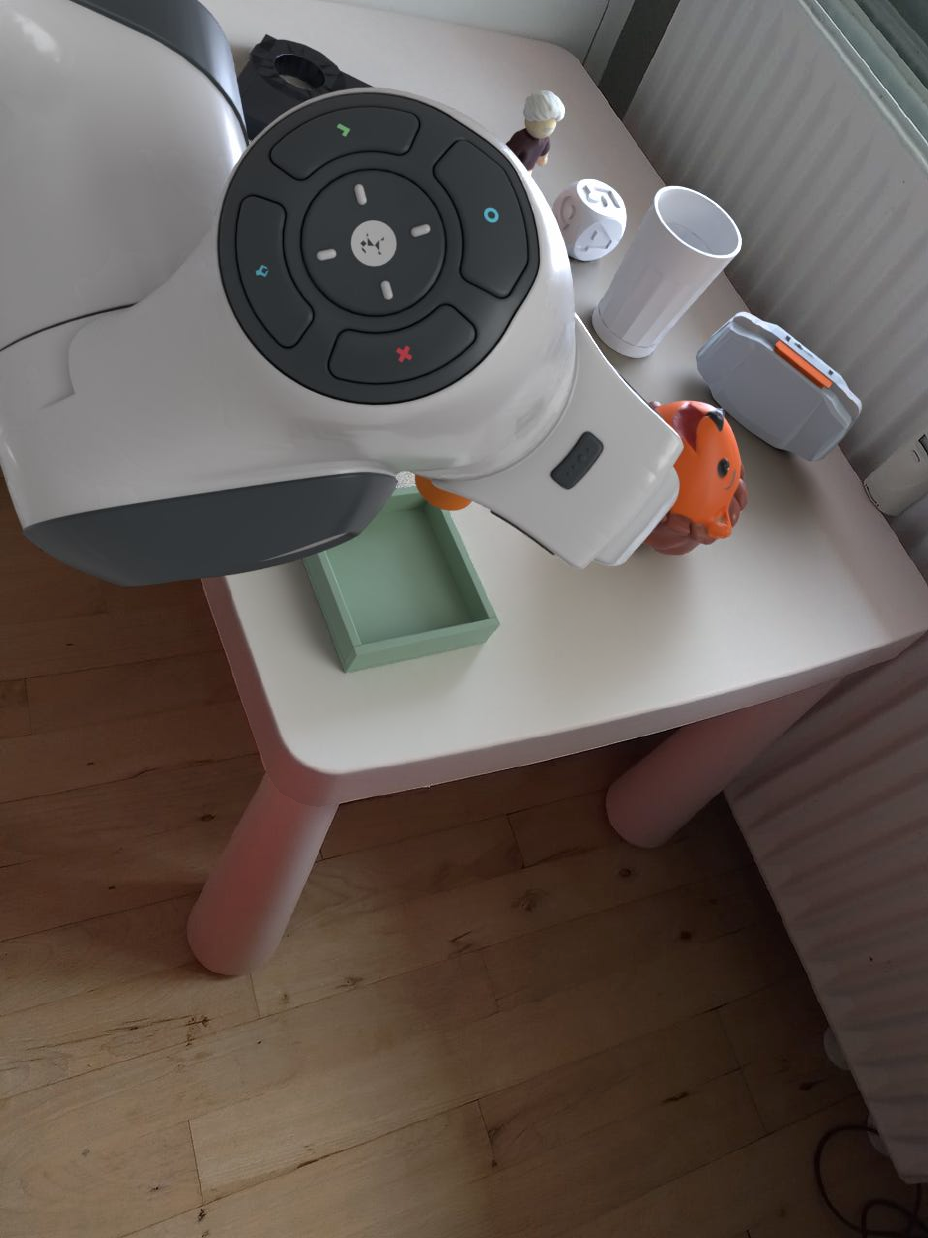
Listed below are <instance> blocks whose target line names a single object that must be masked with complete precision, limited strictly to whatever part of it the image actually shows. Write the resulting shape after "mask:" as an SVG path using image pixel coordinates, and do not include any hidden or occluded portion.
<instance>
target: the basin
mask: <svg viewBox="0 0 928 1238" xmlns="http://www.w3.org/2000/svg"><path fill="white" fill-rule="evenodd" d="M301 560H302V563H303V566H304V568H305V571H306V574H307V576H308V579H309V581H310V585H311V587H312V589H313V593H314V595H315V597H316V601H317V603H318V606H319V608H320V610H321V613H322V616H323V619H324V622H325V624H326V627H327V629H328V632H329V635H330V638H331V640H332V642H333V645H334V647H335V650H336V652H337V656H338V658H339V661H340V664H341V666H342V669H343V671H344V673H345V674H350V673H353V672H358V671H364V670H368V669H372V668H376V667H381V666H385V665H389V664H390V665H391V664H394V663H395V664H396V663H399V662H405V661H407V660H413V659H418V658H421V657H426V656H430V655H431V656H432V655H435V654H440V653H445V652H449V651H455V650H457V649H463V648H467V647H468V648H469V647H471V646H476V645H481V644H486V643H487V642H488V641H489V639H490V638H491V637H492V635H494V633H495V632H496V631H497V629H498V628H499V627H500V626H501V623H500V621H499V619H498V616H497V613H496V612H495V610H494V608H493V605H492V602H491V601H490V598H489V596H488V594H487V592H486V590H485V587H484V585H483V583H482V581H481V578H480V575H479V574H478V572H477V570H476V567H475V565H474V563H473V560H472V559H471V557H470V554H469V552H468V549H467V548H466V545H465V543H464V541H463V538H462V536H461V534H460V532H459V529H458V528H457V525H456V522H455V520H454V518H453V516H452V514H451V512H450V511H448V510H443V509H440V508H437V507H435V506H433V505H432V504H430V503H429V502H428V501H426V500H425V499H424V498H423V497H422V495H421V494H420V493H419V491H418V489H417V487H416V485H412V486H404V487H396V488H395V490H394V492H393V493H392V495H391V497H390V498H389V500H388V501H387V503H386V504H385V506H384V507H383V508H382V510H381V511H380V512H379V513H378V515H377V516H376V517H375V518H374V519H373V520H372V522H371V523H370V524H369V525H368V526H367V527H366V528H365V529H364V530H363V531H362V532H361V534H360V535H358V536H357V537H355V538H353V539H351V540H349V541H347V542H345V543H343V544H340V545H338V546H336V547H333V548H331V549H328V550H325V551H323V552H320V553H317V554H314V555H312V556H309V557H306V558H302V559H301Z"/></svg>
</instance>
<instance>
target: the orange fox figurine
mask: <svg viewBox="0 0 928 1238" xmlns="http://www.w3.org/2000/svg"><path fill="white" fill-rule="evenodd" d="M648 403H649V404H650V405H651V406H652V407H653V408H654V409H655V410H656V411H657V412H658V413H659V414H660V415H661V416H662V418H663V419H664V421H665V422H666V423H667V424H668V425H669V426H670V427H671V428H672V429H673V430H674V431H675V432H676V433H677V434H678V435H679V436H680V438H681V440H682V442H683V446H684V448H683V451H682V452H681V454H680V455H679V457H678V459H677V460H676V462H675V463H674V465H673V467H674V469H675V471H676V473H677V475H678V478H679V484H680V486H679V493H678V497H677V500H676V502H675V503H674V505H673V506H672V507H671V509H670V510H669V511H668V512H667V514H666V515H665V516H664V517H663V518H662V520H661V521H660V522H659V523H658V525H657V526H656V527H655V528H654V529H653V531H652V532H651V533H650V534H649V535H648V537H647V538H646V539H645V540H644V541H643V542H642V543H641V545H644V546H646V547H650V548H651V549H652V550H654V551H655V552H657V553H659V554H661V555H664V556H671V557H672V556H673V557H677V556H678V557H679V556H683V555H687V554H689V553H690V552H692V551H693V550H695V549H696V548H697V547H698V546H699V545H703V546H710V545H713V543H715V542H716V541H718V540H720V539H727V538H728V537H730V535H731V534H732V529H734V527H735V526H736V525H737V523H738V521H739V519H740V517H741V512H743V511H744V510H745V508H746V507H747V505H748V503H749V502H748V501H749V493H748V489H747V486H746V483H745V482H744V478H745V476H746V475H745V474H746V473H745V467H744V464H743V462H742V460H741V455H740V449H739V446H738V443H737V440H736V437H735V434H734V432H733V430H732V427H731V425H730V423H729V422H728V421H727V419H726V417H725V413H726V411H725V410H724V409H723V408H722V407H721V408H720V407H719V408H717V407H714V406H713V405H711V404H709V403H707V402H706V403H705V402H702V401H695V400H680V401H679V400H678V401H673V402H670V403H664V404H661V402H659V401H657V400H654V401H650V402H648Z"/></svg>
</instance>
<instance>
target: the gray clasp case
mask: <svg viewBox="0 0 928 1238" xmlns="http://www.w3.org/2000/svg"><path fill="white" fill-rule="evenodd" d="M695 360H696V368H697V371H698V373H699V374H700V376H701V378H702V379H703V381H704V382H705V384H707V385H708V388H709V390H710V391H711V395H712V398H713V399H714V400H715V402H716V403H717V404H718V405H719V406H720V407H721V409H723V410H724V411H725V413H727V414H728V415H730V416H731V417H732V418H733V419H734V420H735V421H737V422H738V423H739V424H740V425H741V426H743V427H744V428H745V429H746V430H748V431H749V432H750V433H752V434H753V435H755V436H756V437H758V439H761V440H762V441H763V442H765V443H767V444H768V445H770V446H772V447H773V448H775V449H779V450H784V451H787V452H790V453H792V454H794V455H796V456H798V457H800V458H802V459H803V460H805V461H807V462H812V463H813V462H819V461H822V460H824V459H825V458H826V457H827V456H828V455H830V454H831V452H833V451H834V450H835V448H836V447H838V445H839V444H840V443H841V442H842V440H843V439H844V438H845V437H846V435H848V432H849V431H850V430H851V428H852V427H853V426H854V424H855V423H856V421H857V419H858V418H859V416H860V414H861V412H862V409H863V403H862V402H861V400H860V399H859V398H858V396H856V395H855V393H854V392H852V391H851V390H850V389H849V386H848V385H847V383H846V381H845V380H844V378H843V377H842V375H840V373H838V371H836V370H834V369H833V368H832V367H831V366H829V365H828V364H827V363H826V362H824V361H823V360H822V359H821V358H819V356H817V355H816V354H815V353H813V352H812V351H810V350H809V349H808V347H806V346H805V345H803V344H802V343H801V342H799V341H798V340H797V339H796V338H795V337H793V336H792V335H791V334H790V333H788V332H787V331H786V330H785V329H784V328H782V327H780V326H779V325H778V324H775V323H771V322H769V321H768V322H767V321H764V320H762V319H760V318H758V317H757V316H755V315H753V314H751V313H750V312H747V311H740V312H737V313H735V314H734V316H733V317H731V318H730V319H729V320H728V321H726V323H724V324H723V325H722V326H721V327H720V328H719V329H718V330H717V331H716V332H714V334H712V335H711V337H709V339H708V340H707V341H706V342H705V343H704V344H703V345H702V347H700V349H699V350H698V351H697V353H696V356H695Z"/></svg>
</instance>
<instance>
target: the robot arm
mask: <svg viewBox="0 0 928 1238" xmlns="http://www.w3.org/2000/svg"><path fill="white" fill-rule="evenodd" d="M231 48H232V47H231V46H230V42H229V40H228V37H227V36H226V34H225V31H224V30H223V28H222V26H221V25H220V23H219V22H218V20H217V19H216V17H214V15H213V13H212V12H211V11H209V9H207V7H206V6H205V5H204V4H203V3H202V2H200V1H199V0H0V468H1V471H2V474H3V477H4V481H5V484H6V487H7V490H8V492H9V495H10V499H11V501H12V504H13V508H14V511H15V512H16V515H17V518H18V520H19V523H20V525H21V528H22V535H23V536H24V537H25V538H27V539H28V540H29V541H30V543H32V544H33V545H35V546H36V547H37V548H39V549H40V550H41V551H43V552H44V553H45V554H47V555H49V556H50V557H52V558H54V559H56V560H57V561H59V562H61V563H62V564H65V565H67V566H69V567H71V568H73V569H76V570H78V571H79V572H82V573H85V574H87V575H89V576H90V577H91V576H92V577H93V578H97V579H100V580H102V581H104V582H107V583H110V584H113V585H115V586H118V587H122V588H124V587H142V586H143V587H144V586H151V585H153V586H154V585H160V584H167V583H174V582H180V581H190V580H191V581H192V580H202V579H211V578H218V577H220V578H221V577H226V576H227V577H228V576H232V575H233V576H235V575H239V574H245V573H250V572H251V573H252V572H256V571H260V570H264V569H269V568H273V567H277V566H282V565H285V564H289V563H292V562H295V561H299V560H302V558H306V557H309V556H312V555H314V554H317V553H320V552H323V551H325V550H328V549H331V548H333V547H336V546H338V545H340V544H343V543H345V542H347V541H349V540H351V539H353V538H355V537H357V536H358V535H360V534H361V532H362V531H363V530H364V529H365V528H366V527H367V526H368V525H369V524H370V523H371V522H372V520H373V519H374V518H375V517H376V516H377V515H378V513H379V512H380V511H381V510H382V508H383V507H384V506H385V504H386V503H387V501H388V500H389V498H390V497H391V495H392V493H393V492H394V490H395V488H397V486H398V484H399V480H398V479H397V476H398V475H399V474H400V473H403V472H405V473H406V472H407V473H411V474H414V475H415V474H417V475H419V476H422V477H424V478H427V479H430V480H432V484H433V485H434V486H435V487H437V488H439V489H441V490H444V491H447V492H450V493H453V494H456V495H459V496H462V497H464V498H467V499H469V500H471V501H472V502H474V503H476V504H478V505H480V506H481V507H484V508H486V509H487V510H489V512H490V514H491V515H493V516H495V517H496V518H498V519H500V520H501V521H503V522H504V523H507V524H508V525H510V526H511V527H512V528H514V529H515V530H517V531H518V532H520V533H522V534H523V535H524V536H526V537H527V538H528V539H529V540H531V541H532V542H535V544H537V545H538V546H539V547H541V549H544V550H545V551H546V552H547V553H549V555H552V556H557V557H558V558H559V559H560V560H562V561H563V562H564V563H565V564H567V565H568V566H569V567H570V568H574V569H577V570H583V569H585V568H586V567H587V566H588V565H589V564H590V563H591V562H592V561H594V562H596V563H598V564H600V565H603V566H606V567H618V566H621V565H623V564H625V563H626V562H627V561H628V560H629V559H630V557H631V556H632V555H633V554H634V553H635V552H636V551H637V550H638V548H639V547H640V546H641V545H642V542H643V541H644V540H645V539H646V538H647V537H648V535H649V534H650V533H651V532H652V531H653V529H654V528H655V527H656V526H657V525H658V523H659V522H660V521H661V520H662V518H663V517H664V516H665V515H666V514H667V512H668V511H669V510H670V509H671V507H672V506H673V505H674V503H675V502H676V500H677V497H678V493H679V486H680V484H679V478H678V475H677V473H676V471H675V469H674V467H673V465H674V463H675V462H676V460H677V459H678V457H679V455H680V454H681V452H682V451H683V448H684V446H683V442H682V440H681V438H680V436H679V435H678V434H677V433H676V432H675V431H674V430H673V429H672V428H671V427H670V426H669V425H668V424H667V423H666V422H665V421H664V419H663V418H662V416H661V415H660V414H659V413H658V412H657V411H656V410H655V409H654V408H653V407H652V406H651V405H650V404H649V402H648V401H647V400H646V399H645V398H643V396H642V395H641V394H640V393H639V392H638V391H637V390H636V389H635V388H634V387H633V386H632V385H631V383H630V382H628V380H626V378H624V376H623V375H622V374H621V373H620V372H619V371H618V369H616V368H615V367H614V366H613V365H612V364H611V363H610V362H609V361H608V359H607V358H606V356H605V355H604V354H603V352H602V351H601V349H600V347H598V344H597V343H596V342H595V340H594V338H593V337H592V336H591V334H590V333H589V330H588V329H587V327H586V326H585V325H584V323H583V322H582V320H581V318H580V317H579V316H578V314H577V313H576V305H575V304H576V302H575V290H574V289H575V288H574V281H573V275H572V268H571V264H570V259H569V255H567V250H566V247H565V243H564V241H563V238H562V235H561V232H560V230H559V227H558V224H557V221H556V219H555V217H554V214H553V212H552V208H551V207H550V205H549V203H548V201H547V199H546V197H545V195H544V194H543V192H542V190H541V189H540V187H539V186H538V184H537V183H536V181H535V180H534V178H533V177H532V174H531V175H530V174H529V172H528V171H527V169H526V168H525V167H524V165H523V164H522V163H521V161H520V160H519V159H518V158H517V156H516V155H515V154H514V153H513V152H512V151H511V150H510V149H509V148H508V147H507V146H506V145H505V144H506V143H505V142H503V140H502V139H500V138H499V137H498V136H497V135H495V134H494V133H493V132H492V131H491V130H489V129H488V128H487V127H485V126H484V125H482V124H481V123H479V122H478V121H477V120H475V119H474V118H472V117H470V116H468V115H466V114H465V113H463V112H461V110H457V109H455V108H453V107H451V106H449V105H447V104H445V103H442V102H439V101H437V100H434V99H432V98H429V97H426V96H424V95H420V94H417V93H413V92H410V91H405V90H399V89H395V88H385V87H376V86H375V87H374V86H373V87H370V88H352V89H345V90H339V91H335V92H331V93H327V94H323V95H320V96H318V97H315V98H312V99H309V100H307V101H305V102H303V103H301V104H299V105H297V106H295V107H293V108H291V109H290V110H288V111H287V112H285V113H284V114H282V115H281V116H279V117H278V118H277V119H275V120H274V121H273V122H272V123H270V124H269V125H268V126H267V127H265V128H264V129H263V130H262V131H261V132H260V133H259V134H258V135H257V136H256V137H255V138H254V140H253V141H252V140H251V141H250V139H248V135H247V130H246V124H245V119H244V114H243V109H242V104H241V99H240V94H239V88H238V83H237V78H238V77H237V74H236V69H235V62H234V58H233V53H232V49H231Z"/></svg>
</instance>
